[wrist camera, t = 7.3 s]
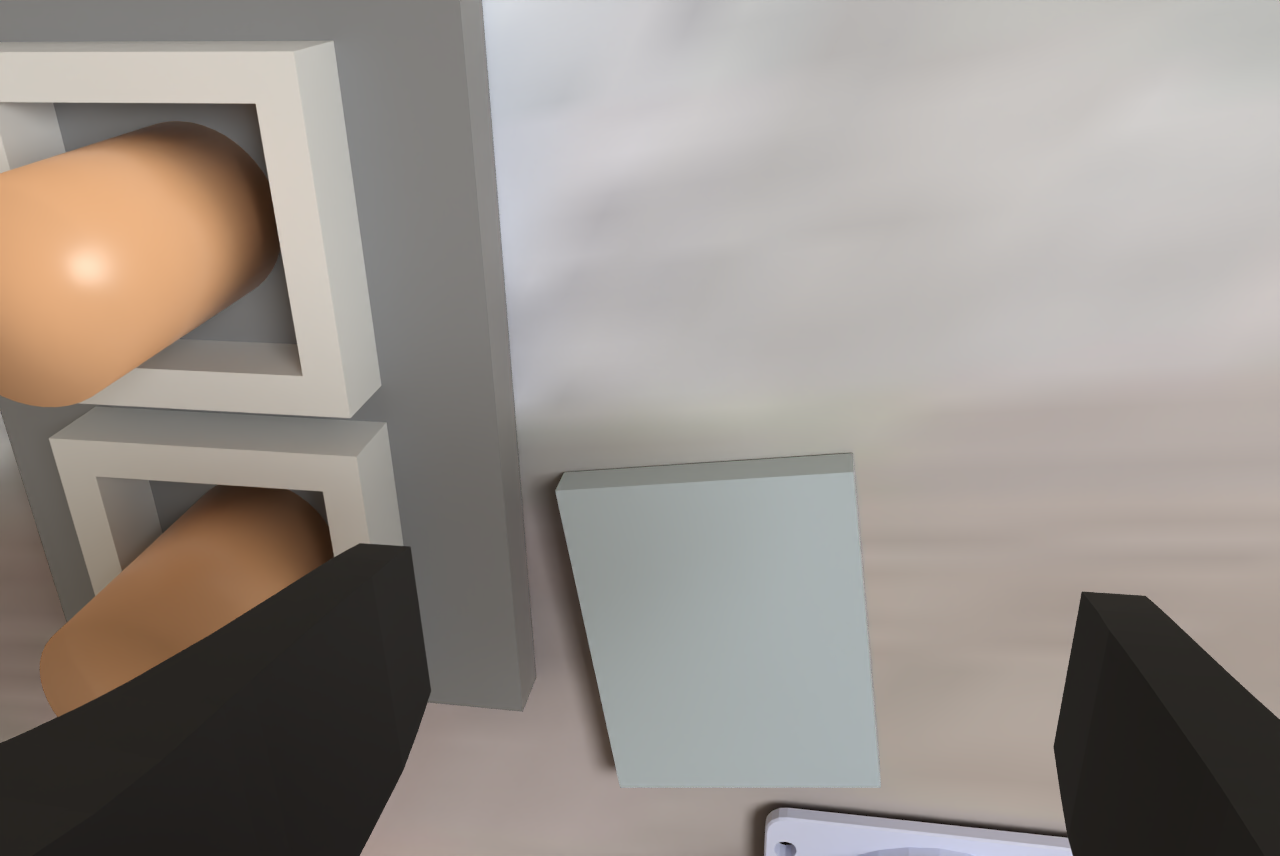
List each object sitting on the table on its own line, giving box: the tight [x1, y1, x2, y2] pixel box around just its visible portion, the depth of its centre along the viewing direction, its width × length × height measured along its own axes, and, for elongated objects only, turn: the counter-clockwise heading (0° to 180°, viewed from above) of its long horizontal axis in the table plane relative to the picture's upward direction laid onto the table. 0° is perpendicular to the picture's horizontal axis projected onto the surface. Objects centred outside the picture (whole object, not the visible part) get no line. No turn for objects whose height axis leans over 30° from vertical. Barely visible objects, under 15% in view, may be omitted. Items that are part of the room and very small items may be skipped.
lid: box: [555, 453, 881, 788], centre depth 23 cm, size 8×6×1 cm
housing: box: [0, 0, 536, 712], centre depth 21 cm, size 15×11×3 cm
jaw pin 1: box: [0, 121, 281, 407], centre depth 18 cm, size 3×3×5 cm
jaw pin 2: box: [40, 485, 334, 717], centre depth 21 cm, size 3×3×5 cm
